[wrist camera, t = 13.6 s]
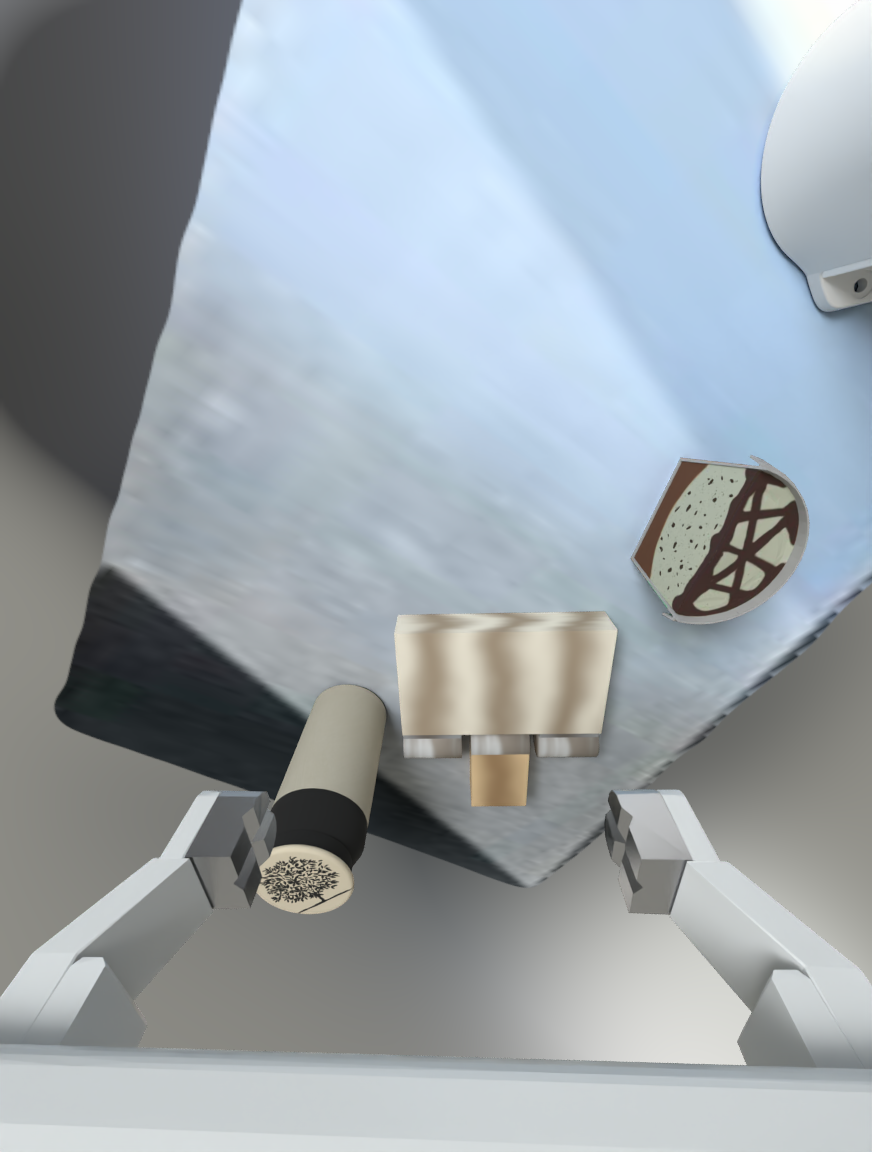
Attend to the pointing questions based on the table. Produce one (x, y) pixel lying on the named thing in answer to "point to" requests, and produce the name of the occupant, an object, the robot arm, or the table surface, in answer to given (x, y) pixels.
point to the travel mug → (325, 803)
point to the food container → (722, 539)
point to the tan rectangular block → (499, 769)
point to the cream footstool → (504, 680)
